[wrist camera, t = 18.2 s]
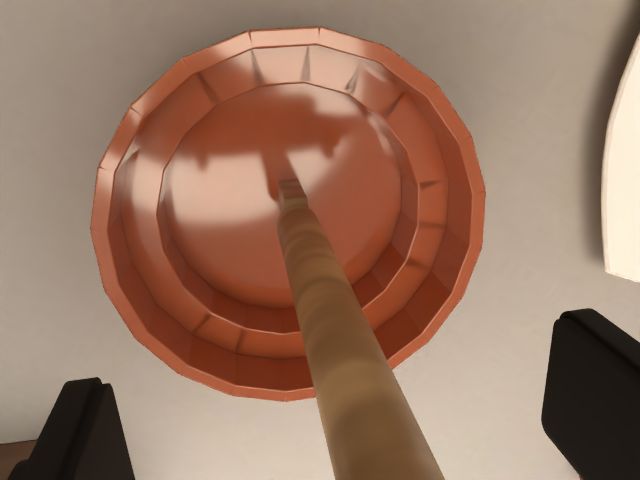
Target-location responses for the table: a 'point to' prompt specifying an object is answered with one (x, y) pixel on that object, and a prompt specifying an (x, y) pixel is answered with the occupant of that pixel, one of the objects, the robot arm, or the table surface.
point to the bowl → (264, 205)
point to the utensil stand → (13, 456)
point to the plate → (623, 176)
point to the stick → (347, 359)
